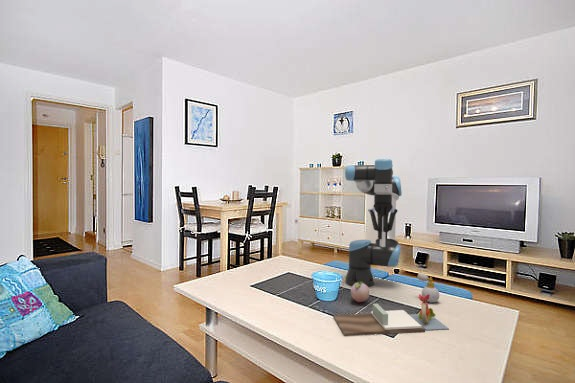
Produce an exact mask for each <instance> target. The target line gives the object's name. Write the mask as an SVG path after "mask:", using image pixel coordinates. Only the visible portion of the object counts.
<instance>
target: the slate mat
mask: <svg viewBox="0 0 575 383" xmlns="http://www.w3.org/2000/svg"><path fill="white" fill-rule="evenodd" d="M418 314H419V313H415V314H412V313H411V314H409V315H410V316H411V317H412V318H413V319H414V320H415V321H417V322H418V323H419V324H420V325H421V326H422V327H423V328H424V329H425V332H426V331H444V330H446V331H447V330H450V328H449V327H448V326H447V325H445V324H444V323H442V322H441V321H440V320H439V319H437V318H436V316H435V317H432V318H431V320H429V321H428V324H424V321H423V319H420V318H419V315H418Z"/></svg>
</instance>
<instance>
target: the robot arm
mask: <svg viewBox="0 0 575 383" xmlns="http://www.w3.org/2000/svg"><path fill="white" fill-rule="evenodd" d="M344 174H345V175H344V176H345V179H346V181H350V182H354V183H355V185H356V188H357V189H358V191H359V192H361V193H363V194H365V195H368V196H373V197H374V199H373V203H374V204H373V206H372V207H371V208H368V213H369V214H370V218H371V223H372V226H373V230H374V231H377V238H376V239H375V243H373V242H372V241H371V240H370V239H358V240H357V239H355V240H353V241H351V242H349V246H348V269H347V273H346V276H345V283H346V284H347V285H348V286H353V285H354V284H355V283H358V282H359V281H360V282H363V284H365V285H367V286H368V288H369V287H372V286H374V284H375V279H374V276H373V272H372V267H371V266H379V267H388V268H396V267H398V265H399V263H400V258H401V249H402V245H400V244H399V242H398V240H397V239H396V220H397V219H396V217H397V216H396V215H397V213H398V209H397V201H398V200H399V198H400V197H401V196H402V193H403V192H402V184H401V178H400V177H399V176H393V175H394V170H393V160H392V158H391V159H390V158H378V159H375V161H374V164H368V165H367V164H365V165H364V164H362V165H361V164H359V165H354V164H352V165H347V166H346V167H345V170H344ZM375 212H376V213H375ZM376 216H377V217H376Z"/></svg>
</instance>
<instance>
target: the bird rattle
mask: <svg viewBox="0 0 575 383" xmlns="http://www.w3.org/2000/svg"><path fill="white" fill-rule="evenodd" d="M429 295H430V294H428V295H426V296H424V297H423V296H422V294H418V299H419V300H420V301H421V309H420V311H419V313H417V314H418V315H419V318H420V319H423V321H424V324H428V321H429V320H431V318H432V317H435V318H436V314H435V312H434V309H433V308H431V307H430V308H429V302H427V300H428V299H429Z"/></svg>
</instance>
